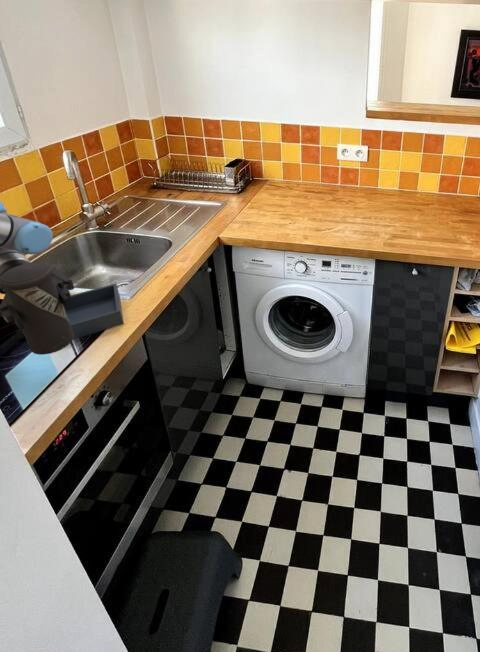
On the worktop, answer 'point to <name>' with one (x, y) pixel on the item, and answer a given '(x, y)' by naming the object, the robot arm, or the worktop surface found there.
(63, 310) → the container
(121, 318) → the tote
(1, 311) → the robot arm
